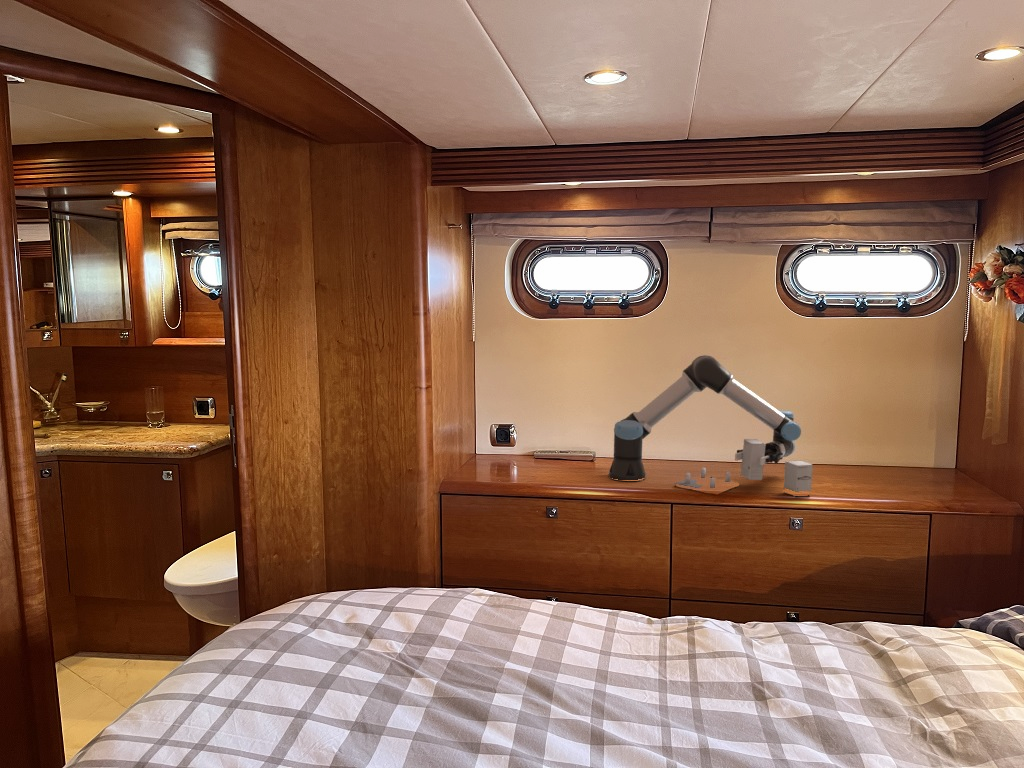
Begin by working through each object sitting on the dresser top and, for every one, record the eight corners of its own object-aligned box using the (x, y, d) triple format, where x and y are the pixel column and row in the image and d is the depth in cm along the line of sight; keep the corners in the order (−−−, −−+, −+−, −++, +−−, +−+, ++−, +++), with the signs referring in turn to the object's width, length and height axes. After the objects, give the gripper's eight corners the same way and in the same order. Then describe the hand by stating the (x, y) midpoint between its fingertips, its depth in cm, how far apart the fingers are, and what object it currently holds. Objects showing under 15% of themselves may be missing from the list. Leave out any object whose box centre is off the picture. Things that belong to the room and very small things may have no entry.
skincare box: (740, 475, 297) (742, 438, 295) (754, 475, 297) (757, 438, 296) (748, 480, 289) (751, 442, 287) (763, 480, 289) (766, 442, 287)
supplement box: (794, 497, 283) (796, 465, 281) (782, 492, 290) (784, 461, 288) (811, 496, 285) (813, 464, 283) (799, 491, 292) (801, 460, 290)
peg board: (674, 486, 297) (675, 473, 297) (699, 478, 312) (699, 465, 311) (716, 495, 285) (717, 481, 284) (739, 485, 300) (740, 472, 299)
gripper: (798, 464, 298) (775, 473, 282) (746, 456, 313) (721, 464, 297) (799, 446, 297) (776, 454, 281) (747, 438, 312) (722, 445, 296)
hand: (748, 459), depth 289 cm, fingers closed on skincare box, 9 cm apart
